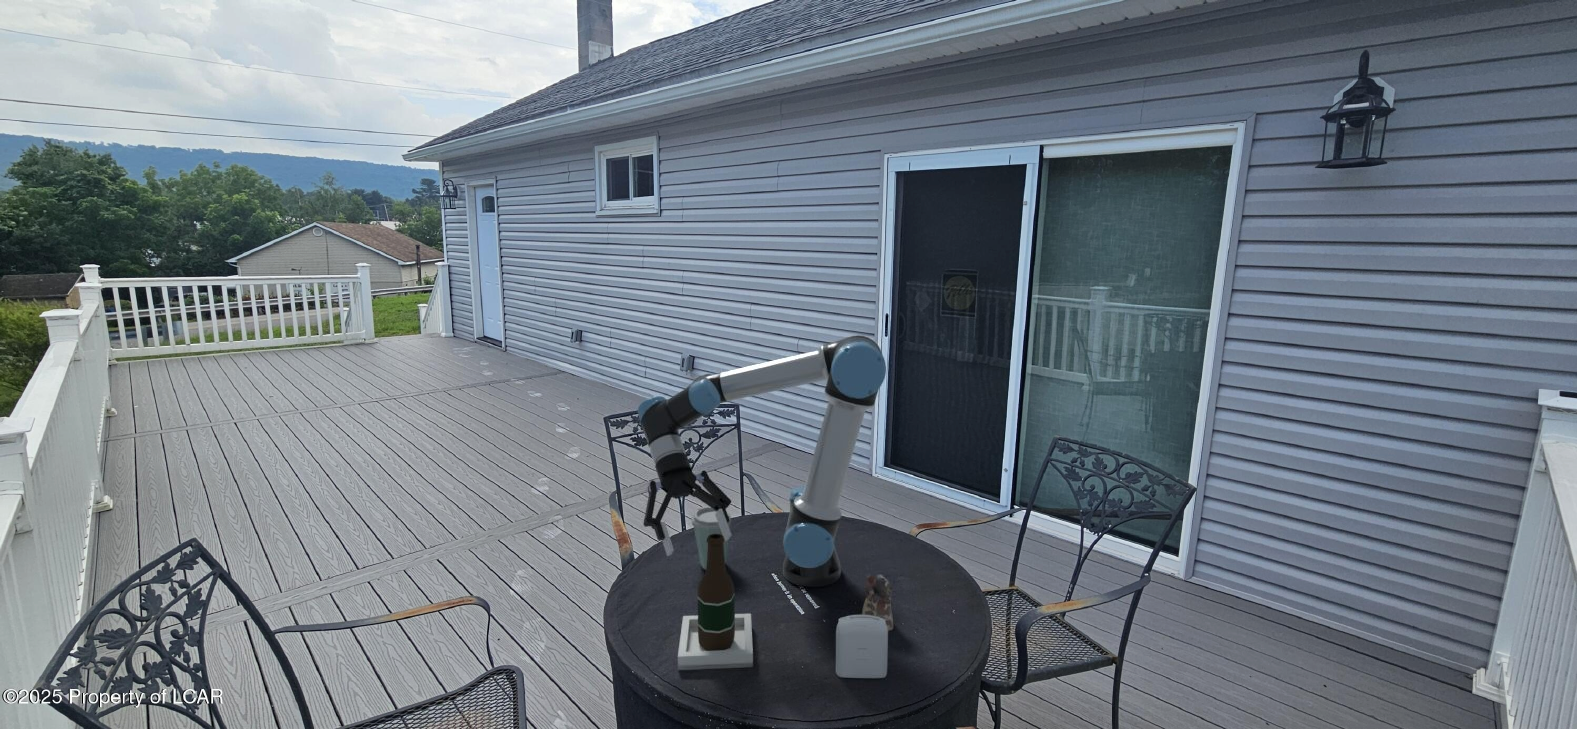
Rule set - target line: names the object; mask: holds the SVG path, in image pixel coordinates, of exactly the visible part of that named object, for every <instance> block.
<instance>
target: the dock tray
mask: <svg viewBox="0 0 1577 729" xmlns="http://www.w3.org/2000/svg"><path fill="white" fill-rule="evenodd" d="M681 622H682V624H681V631H680V636H679V643H678V644H679V645H678V652H677V671H694V670H714V669H715V670H717V669H737V668H741V669H742V668H753V667H754V652H753V651H754V649H753V648H754V647H753V646H754V645H753V630H752V629H753V627H752V614H751V613H735V637H734V641H733V643H732V645H731V647H730V648H729V649H726V650H719V651H706V650H705V649H704V648H703V647H702V646H701V645H700V644H699V640H698V614H697V615H683V616H682V621H681Z"/></svg>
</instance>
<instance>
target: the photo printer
mask: <svg viewBox="0 0 1577 729" xmlns="http://www.w3.org/2000/svg"><path fill="white" fill-rule="evenodd" d="M888 641H889V631H888V628H887V625H886V622H885V619H883V618H880V617H876V616H871V615H862V614H851V615H847V616H846V615H845V616H843V617H840V618H838V623H837V625H836V629H835V674H836V675H837V676H838V677H839V678H848V679H849V678H850V679H851V678H852V679H884V678H886V676H887V674H888V650H889V649H888V647H889V645H888V643H889V642H888Z"/></svg>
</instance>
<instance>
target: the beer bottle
mask: <svg viewBox="0 0 1577 729" xmlns="http://www.w3.org/2000/svg"><path fill="white" fill-rule="evenodd" d="M724 541H725V539H724V536H723V535H721V534H711V535H709V536H708V537H707V541H706V542H707V543H708V551H707V568H706V570H705V573H704V575H703V576H702V578H701V579H700V582H699V585H698V588H697V615H698V640H699V644H700V645H701V646H702V647H703V648H704V649H705V650H706V651H719V650H726V649H729V648H730V647H731V645H732V643H733V641H734V637H735V614H736V612H735V611H736V610H735V609H736V606H735V602H736V601H735V600H736V599H735V595H736V594H735V584H734V582H733V579H732V577H731V576H730V575H729V573H728V572H727V569H726V563H725V559H724V546H723V542H724Z"/></svg>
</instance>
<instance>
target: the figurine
mask: <svg viewBox="0 0 1577 729" xmlns="http://www.w3.org/2000/svg"><path fill="white" fill-rule="evenodd" d="M866 579H867V580H868V583H867V584H866V586H865V596H866V598H865V600H864V603H863V607H862V612H861V615H871V616H876V617H880V618H883V619H885V622H886V625H887V628H888V632H890V631H892V630H893V629H894V617H893V612H892V606H891V605H892V604H891V601H892V592H894V590H893V588H892V587H891V585H890V581H889V580H888V579H887V578H885V576H884V575H883V574H877V575H876V576H875V578H874V577H873V576H872V574H868V575H866ZM869 589H871V591H869Z"/></svg>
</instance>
